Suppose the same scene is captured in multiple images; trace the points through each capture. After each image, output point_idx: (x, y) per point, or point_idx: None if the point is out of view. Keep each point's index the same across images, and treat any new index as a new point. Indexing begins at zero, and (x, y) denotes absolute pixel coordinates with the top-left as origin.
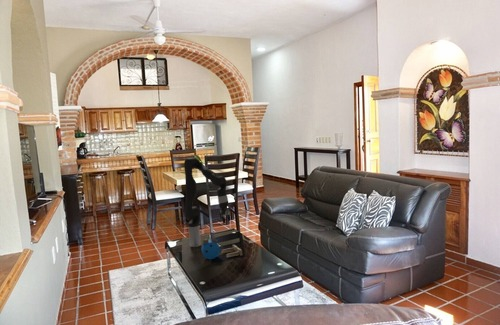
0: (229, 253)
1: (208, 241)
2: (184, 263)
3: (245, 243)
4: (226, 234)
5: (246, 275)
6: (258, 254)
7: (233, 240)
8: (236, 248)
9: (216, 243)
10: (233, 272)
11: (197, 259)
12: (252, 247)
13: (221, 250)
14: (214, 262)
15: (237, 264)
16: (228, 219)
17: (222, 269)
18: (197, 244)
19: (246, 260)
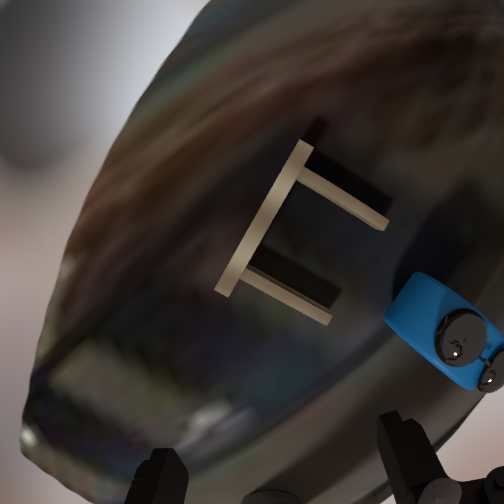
0: (365, 215)
1: (482, 364)
2: None
3: (91, 284)
4: (65, 457)
5: (474, 9)
6: (232, 58)
7: (94, 388)
8: (273, 217)
9: (462, 301)
10: (492, 69)
11: None
12: (130, 182)
13: (328, 321)
14: (461, 243)
15: (427, 91)
16: (180, 482)
17: (500, 137)
18: (281, 499)
19: (357, 70)
